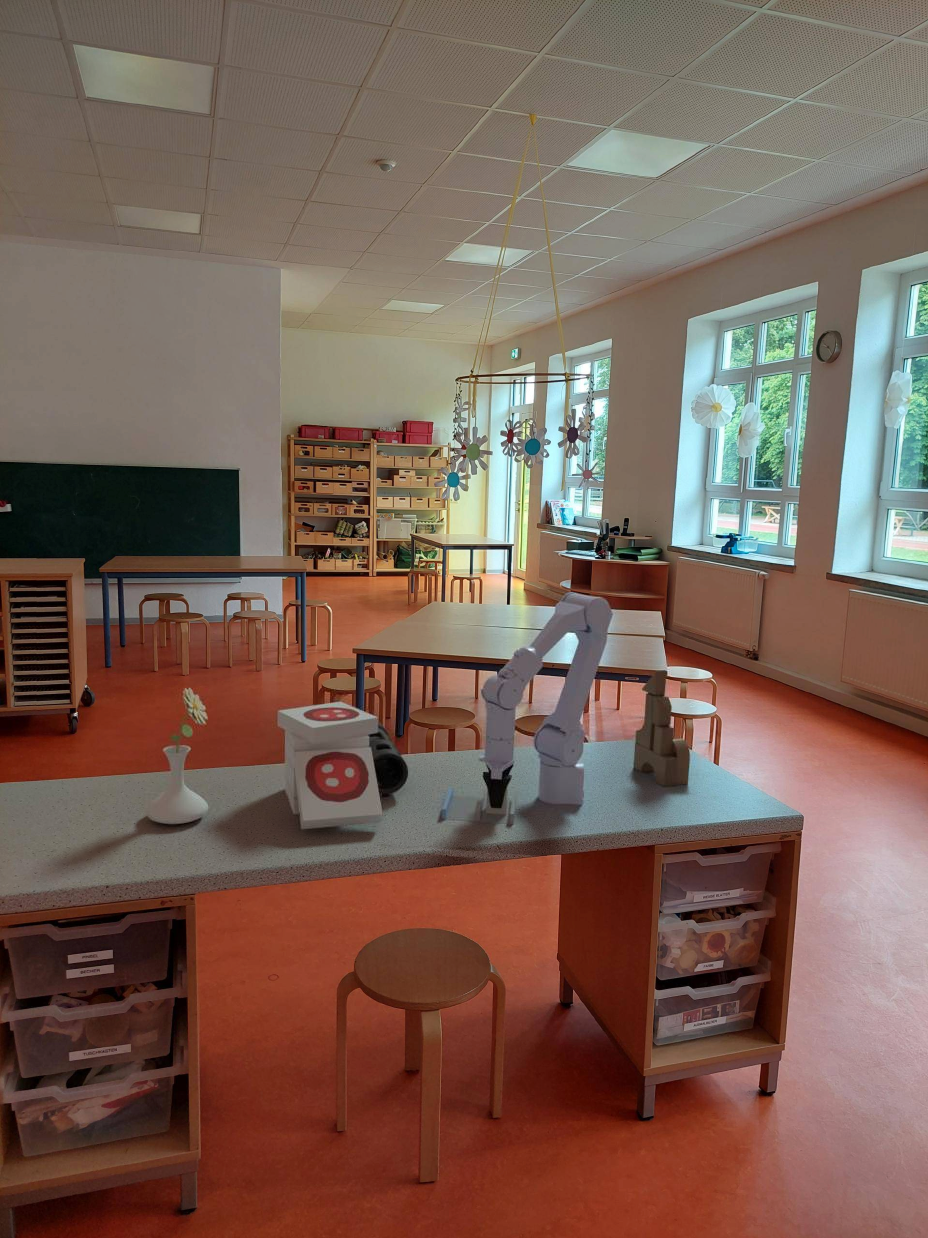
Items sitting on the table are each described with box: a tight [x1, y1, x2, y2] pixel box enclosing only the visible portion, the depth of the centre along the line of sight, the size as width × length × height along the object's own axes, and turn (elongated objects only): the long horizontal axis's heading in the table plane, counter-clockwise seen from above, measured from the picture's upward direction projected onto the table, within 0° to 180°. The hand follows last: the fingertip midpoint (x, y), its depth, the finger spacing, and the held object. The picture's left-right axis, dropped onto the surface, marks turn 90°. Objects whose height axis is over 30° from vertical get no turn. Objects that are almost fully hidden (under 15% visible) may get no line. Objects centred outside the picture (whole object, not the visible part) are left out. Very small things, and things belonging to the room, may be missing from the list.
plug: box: [486, 785, 509, 815], centre depth 177 cm, size 4×4×8 cm
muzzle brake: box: [368, 721, 409, 799], centre depth 196 cm, size 10×28×10 cm, turn 16°
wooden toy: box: [633, 669, 691, 787], centre depth 204 cm, size 16×7×25 cm, turn 19°
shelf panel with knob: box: [441, 785, 518, 825], centre depth 177 cm, size 14×13×3 cm
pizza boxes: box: [277, 701, 383, 830], centre depth 177 cm, size 19×30×18 cm, turn 18°
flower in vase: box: [145, 687, 209, 825], centre depth 169 cm, size 13×11×25 cm
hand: (497, 802), depth 177 cm, fingers open, 5 cm apart
